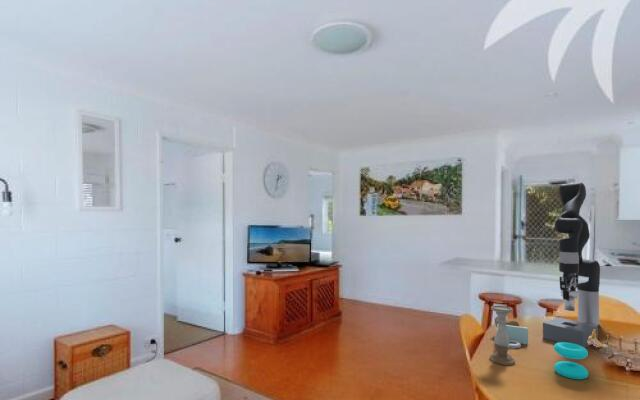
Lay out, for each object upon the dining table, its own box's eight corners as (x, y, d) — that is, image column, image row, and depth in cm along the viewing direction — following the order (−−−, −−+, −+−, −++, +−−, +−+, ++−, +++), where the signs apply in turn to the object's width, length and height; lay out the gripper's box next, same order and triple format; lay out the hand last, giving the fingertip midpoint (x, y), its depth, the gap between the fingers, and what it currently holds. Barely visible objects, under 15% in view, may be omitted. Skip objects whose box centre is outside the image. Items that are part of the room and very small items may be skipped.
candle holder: (512, 367, 135) (512, 312, 136) (487, 361, 141) (486, 308, 141) (516, 360, 142) (516, 307, 143) (492, 354, 148) (492, 303, 148)
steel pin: (564, 307, 172) (564, 288, 172) (580, 310, 166) (580, 291, 167) (558, 309, 168) (558, 290, 168) (574, 312, 163) (574, 293, 163)
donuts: (586, 353, 124) (552, 346, 130) (587, 383, 123) (552, 375, 129) (588, 345, 131) (555, 339, 138) (589, 373, 131) (556, 366, 137)
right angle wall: (497, 349, 155) (497, 331, 156) (497, 340, 166) (497, 323, 166) (530, 354, 150) (529, 335, 150) (528, 345, 161) (527, 327, 161)
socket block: (558, 332, 178) (558, 317, 178) (597, 341, 165) (597, 325, 165) (542, 338, 169) (542, 322, 169) (583, 348, 155) (582, 332, 156)
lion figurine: (500, 338, 168) (500, 318, 168) (491, 334, 173) (491, 315, 173) (524, 335, 173) (524, 315, 173) (515, 331, 178) (515, 312, 178)
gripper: (566, 260, 175) (567, 295, 175) (552, 261, 167) (553, 298, 166) (584, 261, 169) (585, 298, 168) (571, 263, 161) (571, 302, 160)
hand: (569, 298), depth 167 cm, fingers closed on steel pin, 6 cm apart
